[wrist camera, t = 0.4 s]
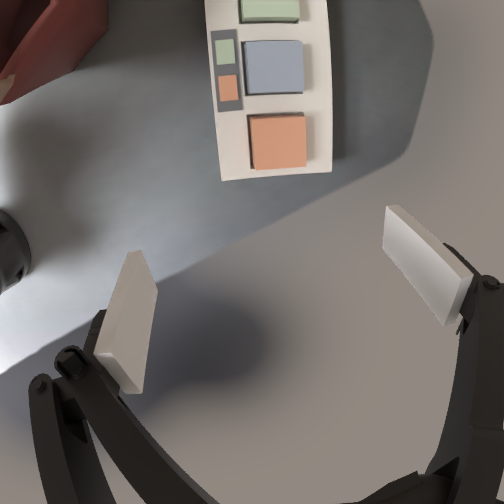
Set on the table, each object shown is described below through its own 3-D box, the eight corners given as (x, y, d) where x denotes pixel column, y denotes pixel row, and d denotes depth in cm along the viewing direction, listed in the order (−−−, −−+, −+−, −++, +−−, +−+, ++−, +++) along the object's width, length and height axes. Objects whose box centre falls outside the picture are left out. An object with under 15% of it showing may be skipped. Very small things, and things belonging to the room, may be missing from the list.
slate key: (247, 92, 30) (250, 93, 28) (244, 44, 27) (246, 41, 25) (298, 90, 31) (304, 91, 28) (296, 43, 27) (301, 41, 25)
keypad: (221, 170, 39) (221, 182, 35) (203, -18, 24) (202, -30, 20) (321, 162, 40) (332, 172, 36) (312, -18, 25) (324, -29, 21)
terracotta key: (253, 164, 35) (255, 170, 33) (249, 117, 32) (252, 119, 30) (300, 161, 35) (306, 166, 33) (299, 114, 32) (305, 117, 30)
